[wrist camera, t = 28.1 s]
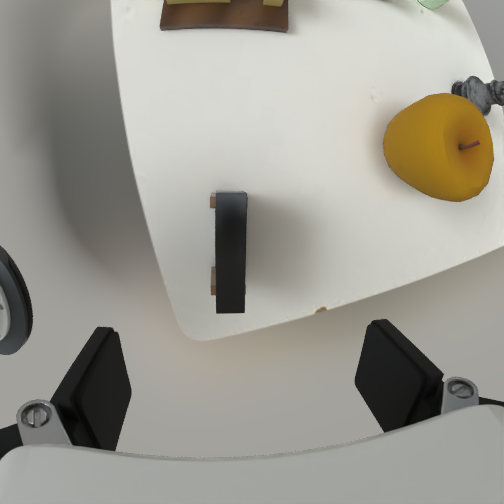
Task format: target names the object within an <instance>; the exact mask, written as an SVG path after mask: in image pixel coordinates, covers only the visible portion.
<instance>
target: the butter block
mask: <svg viewBox="0 0 504 504" xmlns="http://www.w3.org/2000/svg"><path fill="white" fill-rule="evenodd" d="M166 1H167V4H168V5H169V4H183V3H230V0H166Z"/></svg>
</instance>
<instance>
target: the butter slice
mask: <svg viewBox="0 0 504 504" xmlns="http://www.w3.org/2000/svg"><path fill="white" fill-rule="evenodd" d="M283 1H284V0H263V5H270V6H279V7H281V5H282V3H283Z"/></svg>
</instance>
